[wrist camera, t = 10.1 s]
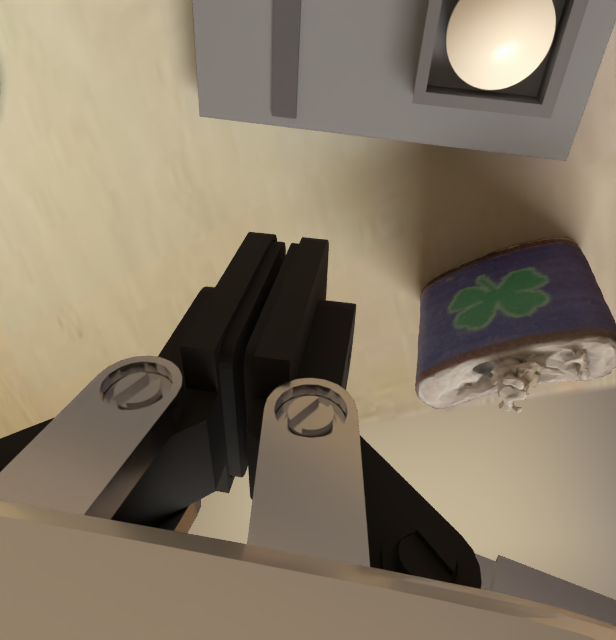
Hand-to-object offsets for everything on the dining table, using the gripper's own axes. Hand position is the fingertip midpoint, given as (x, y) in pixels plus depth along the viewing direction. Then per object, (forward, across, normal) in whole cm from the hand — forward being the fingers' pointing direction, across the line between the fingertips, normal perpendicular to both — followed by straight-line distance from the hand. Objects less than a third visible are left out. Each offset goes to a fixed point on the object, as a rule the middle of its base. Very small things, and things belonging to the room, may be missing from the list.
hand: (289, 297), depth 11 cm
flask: (+18, -9, +9) cm, 22 cm away
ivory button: (+16, -5, -4) cm, 17 cm away
